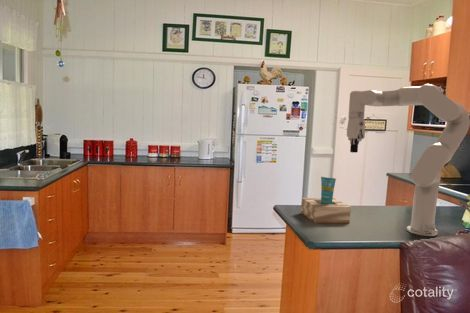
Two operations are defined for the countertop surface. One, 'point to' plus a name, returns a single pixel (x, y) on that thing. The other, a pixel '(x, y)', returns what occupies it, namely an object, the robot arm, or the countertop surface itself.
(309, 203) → the socket block
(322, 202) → the tube
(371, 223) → the countertop surface
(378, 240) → the countertop surface
